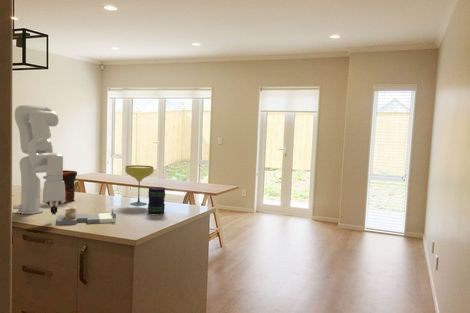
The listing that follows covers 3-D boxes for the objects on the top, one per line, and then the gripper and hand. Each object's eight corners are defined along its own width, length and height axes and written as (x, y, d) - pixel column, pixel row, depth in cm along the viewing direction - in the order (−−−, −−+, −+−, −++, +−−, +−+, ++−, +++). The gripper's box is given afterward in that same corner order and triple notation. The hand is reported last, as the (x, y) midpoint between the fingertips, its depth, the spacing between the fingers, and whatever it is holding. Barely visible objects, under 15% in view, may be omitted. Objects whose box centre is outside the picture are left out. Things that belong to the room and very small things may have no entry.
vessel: (49, 199, 251) (50, 169, 250) (71, 198, 260) (72, 169, 259) (56, 203, 240) (57, 172, 239) (79, 202, 250) (80, 172, 249)
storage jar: (144, 213, 223) (145, 188, 223) (153, 210, 233) (154, 186, 232) (158, 215, 220) (159, 189, 219) (167, 212, 229) (168, 187, 228)
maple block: (65, 218, 193) (65, 209, 193) (65, 216, 198) (65, 207, 198) (75, 218, 195) (75, 208, 195) (75, 216, 200) (75, 206, 200)
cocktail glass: (148, 201, 263) (149, 165, 261) (155, 206, 247) (156, 167, 245) (121, 202, 254) (123, 165, 253) (127, 207, 238) (128, 167, 237)
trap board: (57, 224, 188) (57, 216, 188) (58, 218, 201) (58, 210, 201) (115, 222, 199) (116, 213, 199) (113, 216, 212) (113, 208, 212)
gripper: (37, 179, 186) (36, 216, 187) (70, 179, 192) (69, 215, 193) (38, 177, 193) (38, 213, 194) (70, 177, 199) (69, 212, 200)
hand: (53, 213), depth 193 cm, fingers closed
